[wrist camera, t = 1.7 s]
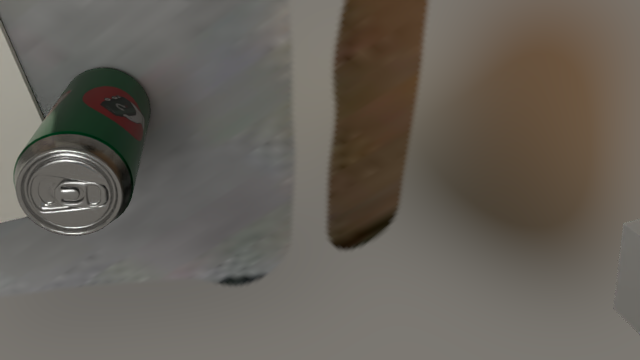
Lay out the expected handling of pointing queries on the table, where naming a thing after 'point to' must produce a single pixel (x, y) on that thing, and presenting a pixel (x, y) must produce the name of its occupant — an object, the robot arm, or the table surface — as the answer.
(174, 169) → the table surface
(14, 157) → the folded white napkin
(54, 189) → the soda can
